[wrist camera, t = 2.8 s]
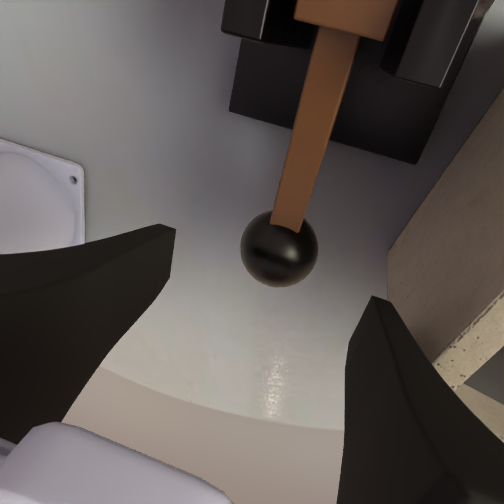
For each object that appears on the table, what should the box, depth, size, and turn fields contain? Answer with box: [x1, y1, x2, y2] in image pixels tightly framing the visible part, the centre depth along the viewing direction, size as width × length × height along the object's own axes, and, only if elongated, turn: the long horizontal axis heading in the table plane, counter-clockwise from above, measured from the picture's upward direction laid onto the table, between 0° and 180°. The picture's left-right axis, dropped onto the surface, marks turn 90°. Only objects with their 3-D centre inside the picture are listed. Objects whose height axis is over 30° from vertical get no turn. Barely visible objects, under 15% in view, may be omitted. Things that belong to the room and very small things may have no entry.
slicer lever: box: [240, 0, 400, 287], centre depth 11 cm, size 12×3×3 cm, turn 167°
